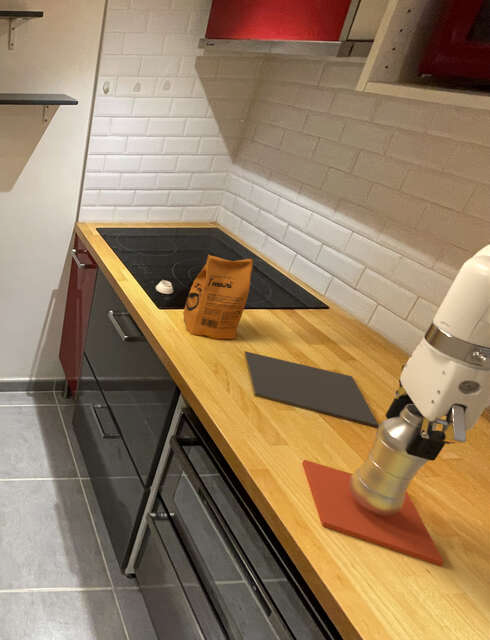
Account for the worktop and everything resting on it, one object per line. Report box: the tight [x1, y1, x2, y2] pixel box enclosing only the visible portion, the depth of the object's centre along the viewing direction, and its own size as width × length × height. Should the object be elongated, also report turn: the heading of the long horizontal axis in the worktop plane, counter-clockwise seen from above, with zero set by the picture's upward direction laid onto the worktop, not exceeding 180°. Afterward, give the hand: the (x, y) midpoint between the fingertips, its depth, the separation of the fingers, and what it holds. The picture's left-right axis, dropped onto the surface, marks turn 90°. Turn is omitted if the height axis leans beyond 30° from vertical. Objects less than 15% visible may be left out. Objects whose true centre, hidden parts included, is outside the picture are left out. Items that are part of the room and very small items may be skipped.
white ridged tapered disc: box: [155, 280, 174, 295], centre depth 140 cm, size 5×3×5 cm
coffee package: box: [182, 254, 254, 340], centre depth 118 cm, size 10×12×22 cm
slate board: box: [243, 350, 379, 429], centre depth 102 cm, size 22×16×1 cm
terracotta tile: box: [302, 459, 445, 567], centre depth 75 cm, size 15×13×1 cm
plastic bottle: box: [349, 404, 439, 515], centre depth 71 cm, size 6×7×20 cm
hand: (408, 436), depth 69 cm, fingers closed on plastic bottle, 6 cm apart
